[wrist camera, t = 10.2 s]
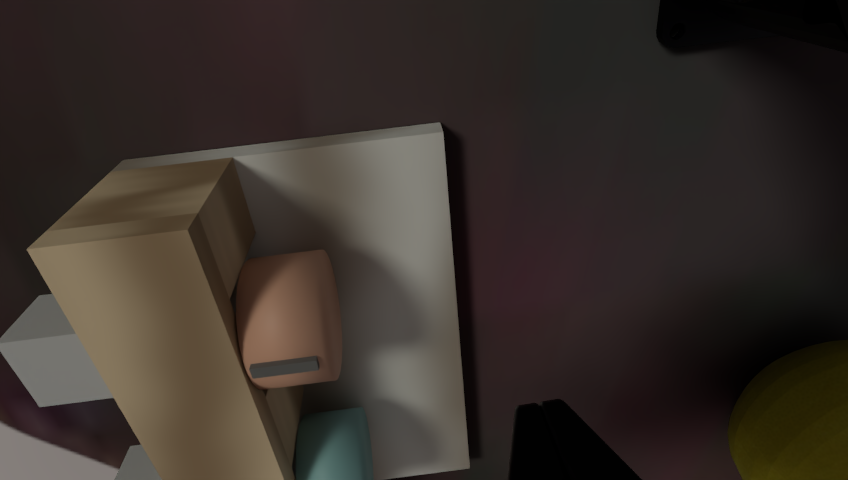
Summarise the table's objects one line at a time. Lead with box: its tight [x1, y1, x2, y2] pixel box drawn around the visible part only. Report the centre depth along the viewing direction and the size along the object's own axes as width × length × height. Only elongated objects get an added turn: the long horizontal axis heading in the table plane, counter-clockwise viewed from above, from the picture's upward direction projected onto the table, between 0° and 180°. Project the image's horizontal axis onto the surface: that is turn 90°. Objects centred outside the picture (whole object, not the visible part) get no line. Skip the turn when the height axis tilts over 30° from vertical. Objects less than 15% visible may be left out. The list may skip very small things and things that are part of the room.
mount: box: [27, 122, 470, 480], centre depth 20 cm, size 11×18×6 cm, turn 6°
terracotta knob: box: [0, 249, 342, 407], centre depth 17 cm, size 10×4×5 cm, turn 96°
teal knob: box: [115, 407, 374, 480], centre depth 22 cm, size 10×4×5 cm, turn 96°
